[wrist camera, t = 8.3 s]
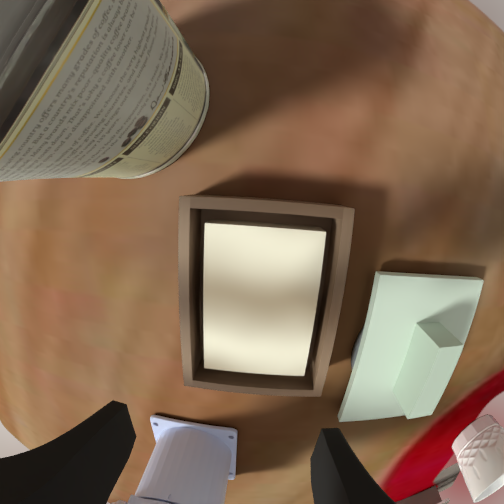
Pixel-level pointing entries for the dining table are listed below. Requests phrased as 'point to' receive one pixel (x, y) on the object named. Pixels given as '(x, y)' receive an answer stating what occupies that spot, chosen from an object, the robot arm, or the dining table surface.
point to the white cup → (481, 456)
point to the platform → (430, 499)
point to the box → (260, 292)
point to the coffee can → (95, 89)
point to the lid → (409, 344)
